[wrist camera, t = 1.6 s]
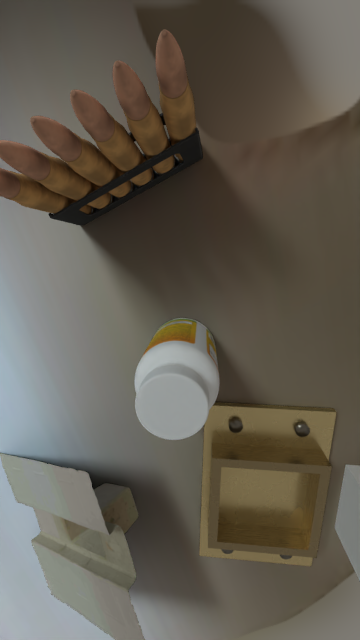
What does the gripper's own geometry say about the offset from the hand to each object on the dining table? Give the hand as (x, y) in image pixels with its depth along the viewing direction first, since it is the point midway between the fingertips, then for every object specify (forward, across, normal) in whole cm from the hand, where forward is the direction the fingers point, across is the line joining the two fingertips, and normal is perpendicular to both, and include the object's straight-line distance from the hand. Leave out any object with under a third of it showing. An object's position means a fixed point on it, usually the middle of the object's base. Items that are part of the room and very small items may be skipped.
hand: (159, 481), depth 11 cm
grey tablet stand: (+15, -10, -17) cm, 24 cm away
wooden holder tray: (+14, +7, -13) cm, 21 cm away
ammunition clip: (+14, -4, +13) cm, 20 cm away
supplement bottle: (+15, 0, 0) cm, 15 cm away
